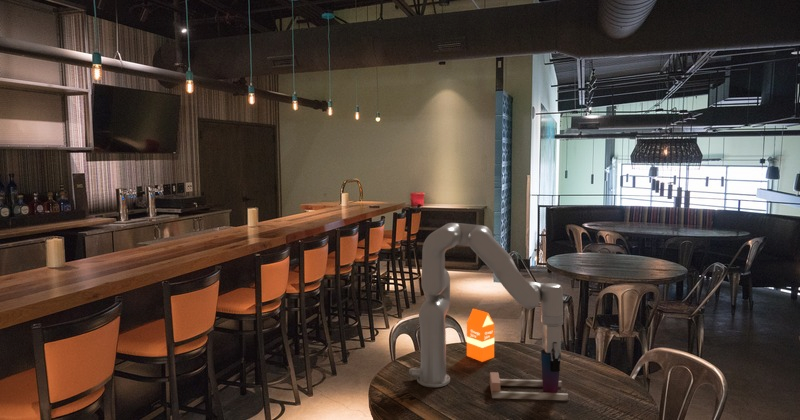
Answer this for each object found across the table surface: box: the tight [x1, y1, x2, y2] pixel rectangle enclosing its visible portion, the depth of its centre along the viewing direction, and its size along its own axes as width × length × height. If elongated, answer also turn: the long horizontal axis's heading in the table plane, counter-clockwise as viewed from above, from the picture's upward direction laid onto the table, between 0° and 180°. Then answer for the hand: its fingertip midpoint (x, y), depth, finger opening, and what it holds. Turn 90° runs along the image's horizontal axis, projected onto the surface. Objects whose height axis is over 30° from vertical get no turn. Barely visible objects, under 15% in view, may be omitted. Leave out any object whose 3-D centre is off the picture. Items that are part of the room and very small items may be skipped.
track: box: [489, 371, 569, 401], centre depth 185 cm, size 26×11×5 cm, turn 84°
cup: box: [540, 348, 562, 393], centre depth 184 cm, size 7×7×15 cm
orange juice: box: [466, 308, 495, 363], centre depth 217 cm, size 8×9×20 cm
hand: (552, 365), depth 183 cm, fingers open, 9 cm apart
